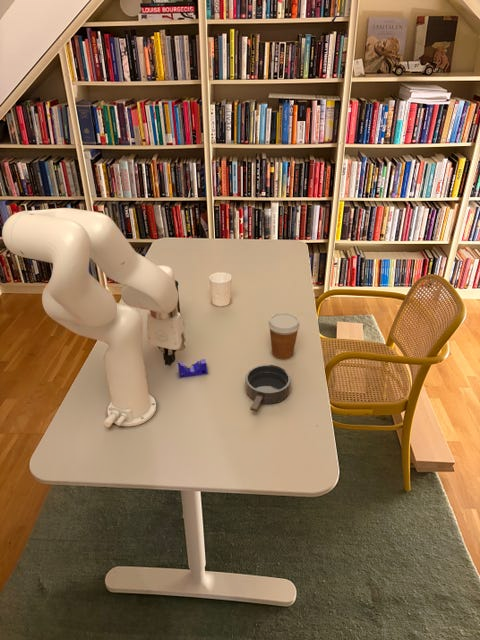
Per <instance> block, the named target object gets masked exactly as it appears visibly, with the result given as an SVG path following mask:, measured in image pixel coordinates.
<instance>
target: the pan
mask: <svg viewBox="0 0 480 640" xmlns="http://www.w3.org/2000/svg"><path fill="white" fill-rule="evenodd" d="M291 379H292V378H291V375H290V374H289V372H288V371H287V370H286V369H285V368H283V367H280V366H278V365H275V364H261V365H257V366H254V367H252V368H250V370H248V371H247V373H246V374H245V392H246V395H247V396H248V397H249V398H250V399H251V400H253V401H254V400H255V398H256V396H257V394H262V395H264V398H263V400H262V402H261V404H266V405H267V404H270V405H272V404H276V403H280V402H282V401H284V400H285V399H287V397H289V395H290V392H291V384H292V383H291V382H292V381H291Z"/></svg>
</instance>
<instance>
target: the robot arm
mask: <svg viewBox="0 0 480 640" xmlns="http://www.w3.org/2000/svg"><path fill="white" fill-rule="evenodd" d="M1 237H2V241H3V243H4V246H5V247H6V249H7V250H9V252H11V253H12V254H14V255H15V256H18V257H21V258H26V259H31V260H36V261H41V262H44V263H50V264H52V271H51V277H50V279H49V281H48V282H47V284H46V285H45V287H44V289H43V291H42V295H41V303H42V307H43V310H44V312H45V313H46V315H47V316H48V317H49V318H51V319H52V320H53V321H55V322H56V323H57V324H59V325H60V326H62V327H64V328H66V329H67V330H69V332H70V331H71V332H72V333H74V334H76V335H78V336H80V337H84V338H87V339H92V340H96V341H99V342H103V343H105V344H107V346H108V348H106V349H105V351H104V353H103V366H104V369H105V374H106V376H105V377H106V380H107V385H108V390H109V395H110V400H111V401H110V403H108V406H107V409H106V410H107V417H106V418H105V419H104V420H103V426H105V427H106V428H110V427H111V426H112V425H113V424H115V425H117V427H120V426H121V427H135V426H139V425H142V424H144V423H146V422H147V421H149V420H150V419H151V418H152V417H153V416H154V415H155V413H156V411H157V401H156V399H155V397H154V396H153V395H151V394H150V393H149V387H148V386H149V385H148V379H147V372H146V365H145V359H144V349H143V330H144V320H143V316H142V314H141V312H140V311H138V310H137V309H140V310H147V311H149V312H148V313H147V317H146V318H147V319H146V335H147V336H146V337H147V342H148V344H150V345H151V346H154V347H157V348H158V349H159V350H160V353H161V354H162V357H163V361H164V365H165V366H169V367H171V365H172V364H173V363H175V361H176V353H177V351H180V352H181V351H182V352H183V351H185V349H186V344H185V342H186V331H185V326H184V325H185V324H184V321H183V318H182V315H181V312H180V313H179V312H178V308H177V303H178V294H179V290H178V291H177V288H176V286H175V280H176V277H175V272H174V269H173V268H172V267H170V266H168V265H162V264H159V265H156V264H155V263H153V262H152V261H150V260H149V259H147V258H146V257H144V256H143V255H142V254H140V253H139V252H137V251H135V249H134V248H133V246H132V245H131V244H130V242H129V241H128V240H127V238H126V236H125V235H124V234H123V232H122V231H121V229H120V228H119V226H117V224H116V222H115V221H114V220H113V219H112V218H111V217H110V216H109V215H107V214H105V213H102V212H100V211H99V212H98V211H94V210H86V209H79V208H72V207H59V208H49V209H48V208H47V209H36V210H34V209H33V210H22V211H18V212H16V213H13V214H12V215H10V216H9V217H8V218H7V219H6V221H5V222H4V224H3V226H2V230H1ZM90 260H92V261H93V263H95V265H96V266H97V267H98V268H99V269H100V270H101V271H102V272H103V274H104V275H105V276H106V277H107V278H109V279H110V280H111V281H114V282H115V283H118V284H121V285H123V286H122V288H121V292H120V297H121V300H122V302H123V303H119V302H117V301H116V299H115V297H114V296H113V294H112V293H111V292H110V290H108V289H107V288H106V287H105V286H104V285H103V284H101V282H99V281H98V280H97V279H96V278H94V276H93V275H92V274H91V273H90V262H91V261H90ZM136 308H137V309H136Z"/></svg>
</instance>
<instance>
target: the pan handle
mask: <svg viewBox="0 0 480 640" xmlns="http://www.w3.org/2000/svg"><path fill="white" fill-rule="evenodd" d="M263 398H264V395H262V394H257V396H256V398H255V400H253V402H252V404H251V406H250V411H253V412H258V410H259V408H260V406H261V404H262V403H261V402H262V400H263Z"/></svg>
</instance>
